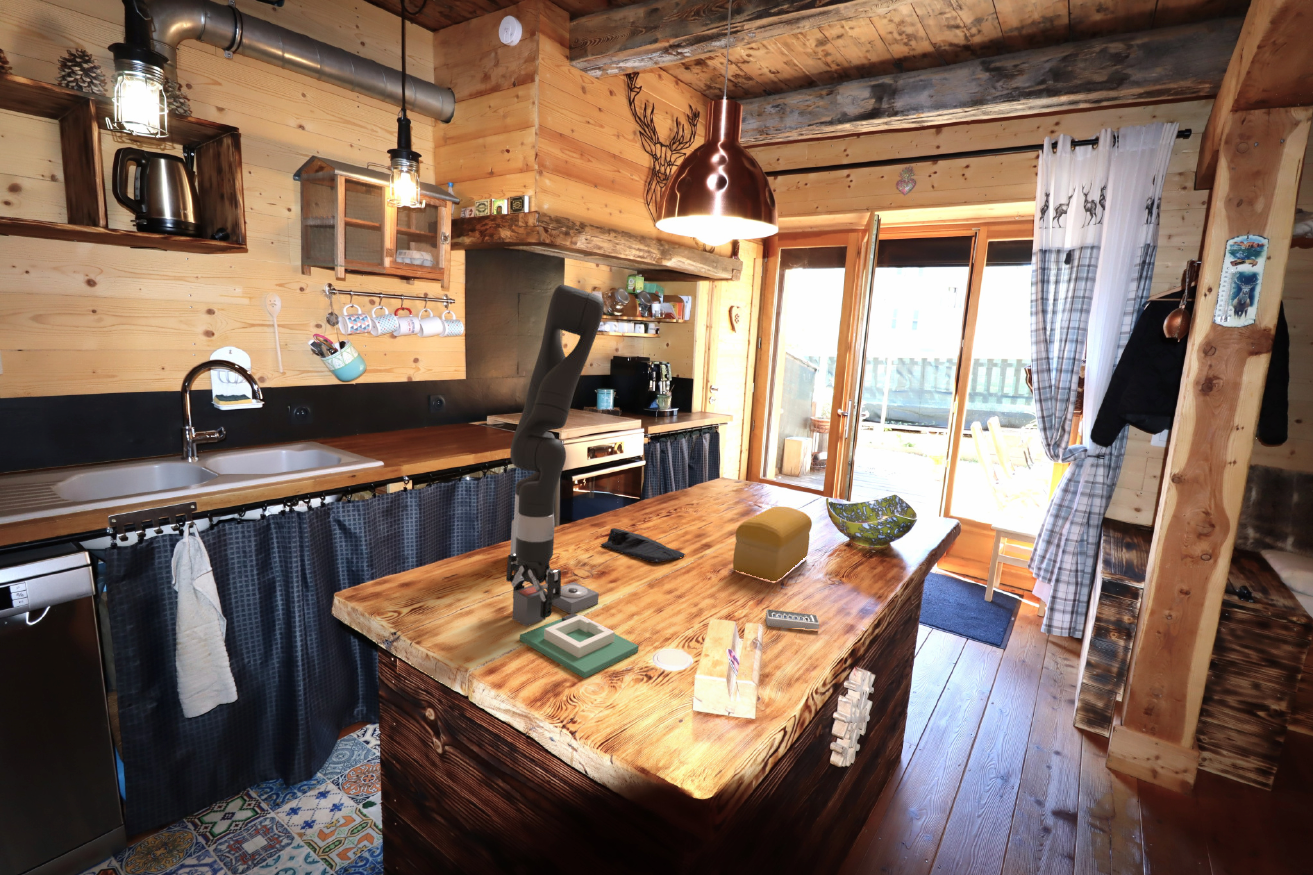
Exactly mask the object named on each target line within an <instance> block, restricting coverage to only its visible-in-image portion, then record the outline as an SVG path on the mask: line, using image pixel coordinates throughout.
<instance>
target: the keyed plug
mask: <svg viewBox="0 0 1313 875" xmlns="http://www.w3.org/2000/svg"><path fill="white" fill-rule="evenodd" d="M544 591H545V594H547V590H546V589H544ZM541 600H542V599H541V597H540V594H539V592H538V591H536V589H535V587H534V585H532V584H531V585H529V586H526V587H524V588H522V589H519V590H516V591H514V595H513V594H512V620H514V621H515V622H517V623H519V624H521V625H523V626H524V627H528V626H531V625H533V624H537V623H538V622H541V621H544V620H546V618H541V617H540V610H541Z"/></svg>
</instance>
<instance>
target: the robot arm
mask: <svg viewBox="0 0 1313 875" xmlns="http://www.w3.org/2000/svg"><path fill="white" fill-rule="evenodd" d="M604 307H605V301H604V298H603V297H602V296H599V295H597V294H595V293H592V292H589V291H585V290H583V289H580V288H577V287H573V286H570V285H568V284H567V285H566V284H559V285H558V286H556V288H555V289H554V291H553V293H552V296H551V298H550V302H549V305H548V309H547V313H546V314H547V315H546V320H545V324H544V331H543V336H542V338H541V339H542V340H541V344H540V348H539V352H538V355H537V358H536V362H535V365H534V368H533V372H532V374H531V378H530V381H529V385H528V390H527V395H526V398H525V399H526V400H525V403H524V407H523V410H522V414H521V416H520V419H519V421H518V424H517V427H516V430H515V432H514V434H513V438H512V440H511V445H510V450H509V451H510V453H509V454H510V455H509V456H510V461H511V463H512V464H513V466H514V467H516V468H518V469H520V470H524V471H530V472H534V473H533V474H531V475H529V476H528V477H524V478H522V479H520V480H518V481H517V482H516V484H515V492H514V493H515V494H514V495H515V496H514V516H513V517H514V519H512V521H511V531H510V532H511V534H510V536H511V537H510V553H509V554H508V556H507V562H506V563H507V564H506V565H507V567H506V576H505V577H506V578H505V579H506V581H507V582H508V583H509V582H510V583H511V586H512V588H513V590H512V596H513V595H514V591H516V590H519V589H522V588H525V585H524V584H525V583H530V584H531V585H534V587H535V589H536V591H538V592H539V594H540V597H541V599H542V600H541V610H540V617H541V618H545V619H547V618H549V617H550V616H552V613H553V605H552V601H553V600H555V599H558V598H560V597H561V586H562V570H561V569H560V568H558V569H553V568H551V566H550V560H551V559H552V558H553V557H554V544H555V542H554V540H555V524H556V523H555V497H556V492H557V488H558V486H559V482H560V477H561V475H562V472H563V469H564V466H565V462H566V458H567V452H566V448H565V445H564V444H563V442H562V441H561V440H559V439H558V438H556V437H555V435H554V434H553V433H552V432H550V431H552V430H559V429H562V428H563V427H564V426H565V425H566V423H567V420H568V416H569V414H570V408H571V406H572V402H573V399H574V398H573V397H574V393H575V391H576V388H577V385H578V382H579V380H580V377H581V375H582V372H583V370H584V368H585V366H586V363H587V360H588V359H589V355H590V352H591V350H592V347H593V345H594V343H595V340H596V337H597V334H598V332H599V328H600V326H601V322H602V320H603V319H602V318H603V316H604V309H605V308H604ZM561 331H564V332H567V333H570V334H573V335H577V336H578V337H579V339H578V341H577V343H576V345H575V347H574V348H573V349H572V350H571V352H569V353H568V354H567V356H566V355H565V352H564V348H563V346H562V341H561ZM544 582H545V584H543V583H544ZM554 589H555V593H553V590H554ZM544 590H545V591H546V592H547V594H545V591H544Z"/></svg>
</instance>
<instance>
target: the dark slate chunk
mask: <svg viewBox="0 0 1313 875" xmlns="http://www.w3.org/2000/svg"><path fill="white" fill-rule="evenodd" d="M600 545H601V547H602V548H605V547H606V548H608V549H610V550H612V551H614V552H616V551H617V552H618V553H621V554H623V555H628V554H629V555H628V556H631V557H633V556H635V557H634V558H636V559H640V558H641V559H640V560H643V559H644V560H643V561H646V560H648V561H647V562H650V561H653V563H660V562H666V561H671V560H678V558H679V559H681V558H680V557H683V556H684V555H686V553H684V552H682V551H680V550H677V549H673V548H671V547H668V546H666V545H664V544H663V543H661V542H658V541H656V540H654V539H652V538H650V537H647V536H645V535H642V534H640V533H639V534H638V533H634V532H631V531H629V530H625V529H620V528H617V527H613V528H611V529H610V531H609V536H608V538H607V541H606V542H603V543H600ZM684 557H685V556H684ZM684 557H683V558H684Z"/></svg>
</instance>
